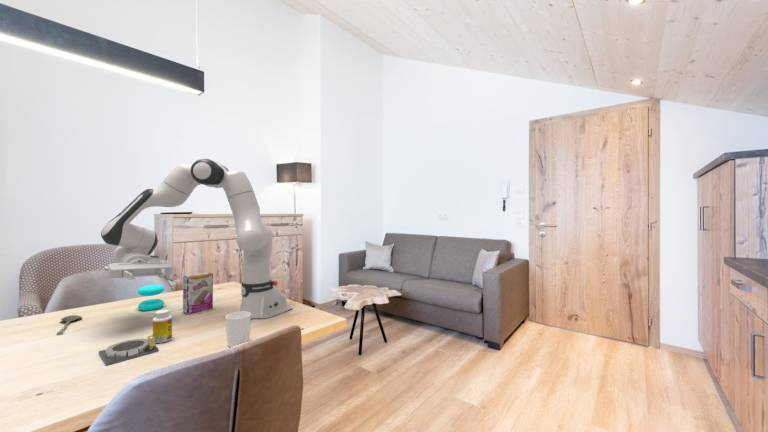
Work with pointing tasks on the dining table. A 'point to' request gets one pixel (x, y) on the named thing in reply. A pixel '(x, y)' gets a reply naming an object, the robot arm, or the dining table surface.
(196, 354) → the dining table surface
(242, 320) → the white cup
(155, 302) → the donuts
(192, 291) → the candy bar box
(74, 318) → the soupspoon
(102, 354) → the dock
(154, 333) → the supplement bottle
